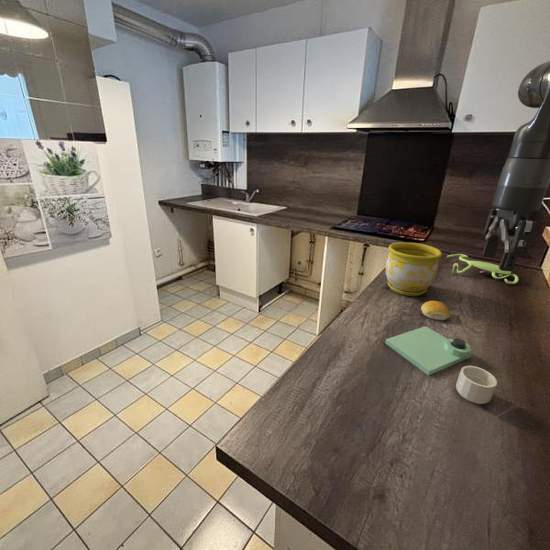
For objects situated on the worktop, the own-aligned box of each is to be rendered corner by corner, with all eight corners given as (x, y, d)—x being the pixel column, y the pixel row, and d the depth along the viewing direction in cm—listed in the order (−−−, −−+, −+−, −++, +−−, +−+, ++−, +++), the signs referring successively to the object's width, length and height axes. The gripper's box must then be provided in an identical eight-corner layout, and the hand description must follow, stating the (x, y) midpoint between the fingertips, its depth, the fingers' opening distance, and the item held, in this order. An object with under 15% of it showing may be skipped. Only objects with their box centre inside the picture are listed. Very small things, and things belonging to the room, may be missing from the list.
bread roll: (445, 309, 99) (448, 299, 97) (450, 323, 91) (453, 312, 90) (419, 305, 102) (421, 295, 100) (421, 318, 94) (424, 307, 92)
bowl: (467, 379, 69) (473, 362, 67) (496, 399, 63) (503, 381, 61) (448, 388, 66) (454, 370, 64) (477, 409, 61) (484, 391, 59)
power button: (456, 342, 78) (457, 337, 77) (466, 347, 75) (468, 343, 75) (449, 344, 77) (450, 339, 76) (459, 350, 74) (461, 345, 74)
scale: (425, 329, 88) (427, 321, 87) (472, 357, 76) (476, 348, 75) (385, 343, 81) (386, 334, 80) (429, 376, 69) (432, 366, 68)
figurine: (445, 261, 144) (448, 250, 142) (512, 272, 131) (516, 260, 129) (444, 273, 129) (447, 261, 127) (519, 287, 117) (523, 274, 115)
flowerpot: (377, 278, 123) (383, 241, 116) (421, 280, 121) (430, 243, 115) (388, 298, 106) (396, 255, 100) (439, 301, 105) (451, 258, 98)
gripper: (570, 188, 48) (534, 278, 55) (525, 181, 61) (501, 254, 67) (518, 186, 50) (489, 273, 56) (485, 180, 63) (465, 251, 69)
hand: (495, 263), depth 62 cm, fingers open, 8 cm apart
